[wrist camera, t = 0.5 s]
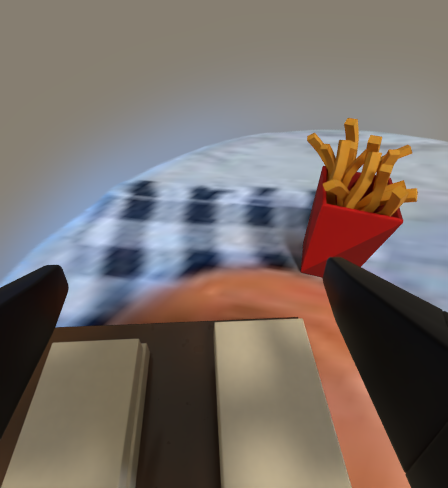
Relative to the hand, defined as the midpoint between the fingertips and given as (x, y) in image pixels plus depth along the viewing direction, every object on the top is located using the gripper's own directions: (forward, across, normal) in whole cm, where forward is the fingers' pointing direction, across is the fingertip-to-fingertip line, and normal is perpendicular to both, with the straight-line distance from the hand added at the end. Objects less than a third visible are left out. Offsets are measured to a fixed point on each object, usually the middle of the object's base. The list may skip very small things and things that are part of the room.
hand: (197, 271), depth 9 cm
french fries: (+17, -12, +12) cm, 24 cm away
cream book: (+1, -4, +12) cm, 12 cm away
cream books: (+2, +8, +15) cm, 17 cm away
